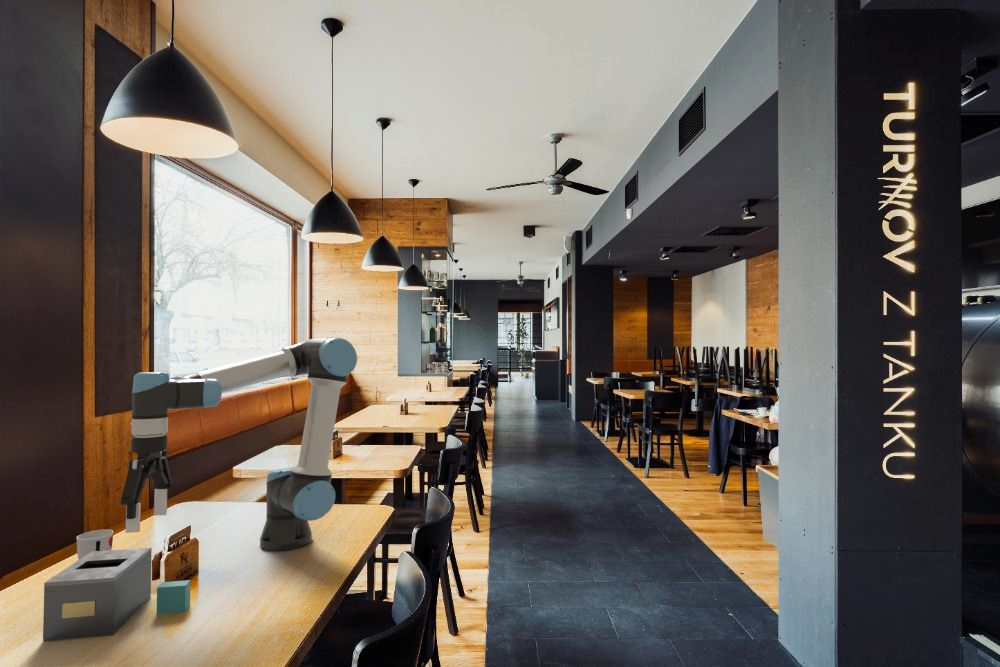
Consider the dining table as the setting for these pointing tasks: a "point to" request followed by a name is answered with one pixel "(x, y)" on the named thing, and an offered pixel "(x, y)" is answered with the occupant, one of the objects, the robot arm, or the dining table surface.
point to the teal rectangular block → (173, 597)
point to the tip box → (96, 594)
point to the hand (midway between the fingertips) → (147, 523)
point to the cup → (94, 542)
